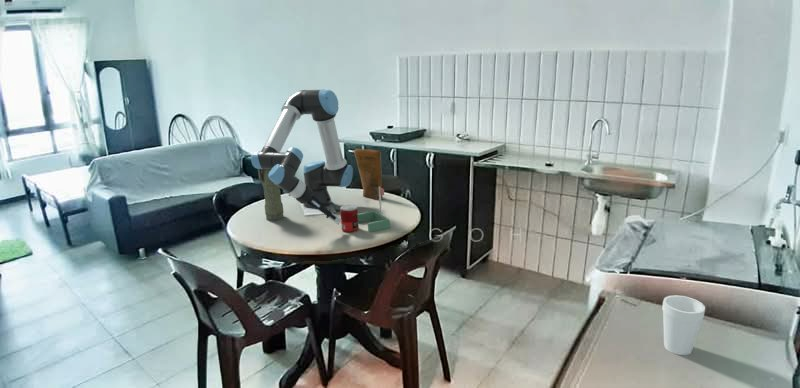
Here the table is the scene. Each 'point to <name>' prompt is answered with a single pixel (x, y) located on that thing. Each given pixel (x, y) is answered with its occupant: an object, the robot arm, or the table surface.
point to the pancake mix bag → (369, 171)
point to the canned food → (349, 218)
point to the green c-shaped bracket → (375, 217)
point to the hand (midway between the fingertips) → (339, 221)
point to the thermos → (271, 196)
